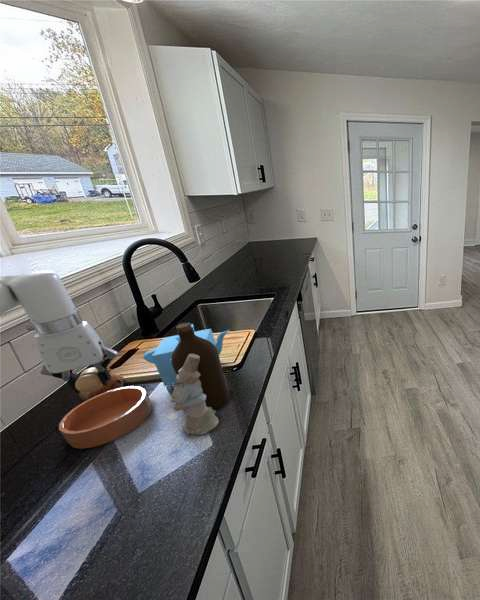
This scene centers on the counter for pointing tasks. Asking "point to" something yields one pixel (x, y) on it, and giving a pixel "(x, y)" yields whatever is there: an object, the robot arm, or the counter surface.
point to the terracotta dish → (105, 417)
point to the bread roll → (104, 387)
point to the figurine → (193, 399)
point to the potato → (88, 380)
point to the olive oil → (202, 365)
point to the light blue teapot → (166, 349)
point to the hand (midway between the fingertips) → (93, 385)
